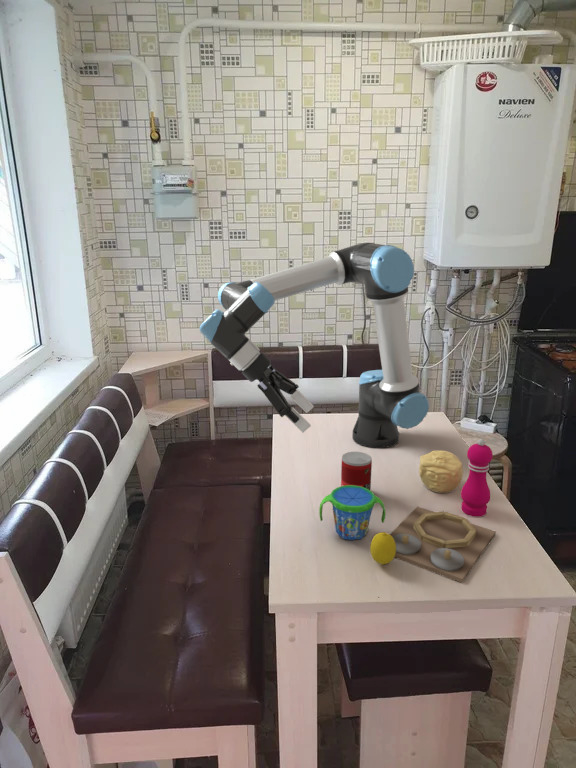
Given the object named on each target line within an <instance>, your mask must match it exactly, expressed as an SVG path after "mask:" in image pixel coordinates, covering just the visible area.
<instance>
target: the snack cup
mask: <svg viewBox="0 0 576 768" xmlns="http://www.w3.org/2000/svg"><path fill="white" fill-rule="evenodd" d="M328 502H329V503H331V505H332V513H333V521H334V530H335V533H336V534H337V535H338V536H339V537H340V538H342V539H343V540H349V541H355V540H360V541H361V540H362V539H363V538H364V537H365V536H366V535H367V533H368V530H369V527H370V526H369V525H370V520H371V515H372V511H373V510H374V507H375V504H379V505H380V508H382V512H381V513H382V514H381V517H380V519H381V523H382V524H383V523H384V522H385V520H386V507H385V504H384V502H383V501H382V499H381V498H380V497H378V496H377V495H375V493H374V492H373V491H372V490H369V489H367V488H364V487H361V486H355V485H346V486H338V487H335V488H334V489H333V490H332V491H331V493H329V494H327V495H326V496H325V497H324V498H322V500H321V501H320V505H319V507H318V508H319V510H318V511H319V512H318V513H319V520H320V522H323V520H324V519H323V506H324V505H325V504H326V503H328Z"/></svg>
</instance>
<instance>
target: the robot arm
mask: <svg viewBox="0 0 576 768" xmlns="http://www.w3.org/2000/svg"><path fill="white" fill-rule="evenodd" d="M414 274H415V268H414V262H413V260H412V258H411V256H410V255H409V253H408V252H406V251H405V249H403V248H399V247H398V246H394V245H391V244H381V243H375V242H363V243H358V244H354V245H351V246H347V247H344V248H341V249H338V250H335V251H331V252H330V253H329V254H328V256H326V257H323V258H320V259H317V260H313V261H309V262H306V263H303V264H298V265H296V266H292V267H289V268H286V269H281V270H279V271H275V272H273V273H268V274H266V275H265V274H264V275H262V276H258V277H254V278H251V279H249V280H243V281H240V282H234V281H233V282H226V283H224V284H223V285H222V286H220V288H218V289H219V290H218V292H217V300H218V302H219V305H220V306H222V307H223V309H224V310H225V311H224V312H223V311H222V310H220V309H217V308H216V309H215V310H214V311H213V312H212V313H211V314H210V315H209V316H208V317H207V318H206V319H205V320H204V321H203V322H202V323H201V324H200V326H199V332H200V333H201V334H202V336H204V338H205V339H206V340H207V341H208V342H209V343H210V344H211V345H212V347H214V348H215V349H216V350H217V351H219V353H220V354H221V355H222V356H224V358H226V359H227V360H228V361H229V362H230V363H229V364H230V365H231V366H232V367H233V366H234V367H235V368H236V369H237V370H238V371H241V374H242V375H243V376H244V377H245V378H246V379H247V380H248V381H249V382H250V383H253V382H254V381H255V380H257V381H258V382H259V383H258V384H257V385H256V386H257V388H258V389H259V390H260V391H261V392H262V393H263V395H264V396H265V397H266V399H267V400H268V401H269V402H270V404H271V405H272V406H273V408H274V409H275V411H276V412H277V413H278V415H279V416H280V418H283V417H286V418H287V419H288V420H289V421H290V422H291V423H292V424H293V425H294V426H295V427H296V428H297V429H298V430H299V431H301V432H302V433H305V432H306V431H307V430H308V429H309V428H311V427H312V425H311V424H310V422H309V421H307V419H306V418H304V417H303V416H302V414H300V412H298V411H297V410H296V409H295V408H294V406H291V405H290V404H289V402H288V401H287V399H286V397H285V396H284V394H283V393H282V392H284V393H286V394H288V395H289V398H291V399H292V400H293V401H294V402H295V403H296V404H297V406H299V408H300V409H302V410H303V411H304V413H306V414H308V413H309V412H310V411H311V410H313V408H314V407H315V406H314V404H312V403H311V401H310V400H309V399H308V398H306V396H304V395H303V393H302V392H300V390H299V389H298V388H299V385H298V384H296V383H295V382H294V381H293V380H291V379H290V378H288V377H287V376H286V375H285V374H283V373H282V372H280V371H279V370H277V368H275V367H274V366H273V365H272V360H271V359H270V358H268V356H267V355H265V353H264V352H260V350H261V349H260V348H259V347H258V346H257V345H256V344H255V343H254V342H253V341H252V340H251V339H250V338H249V337H248V336H247V335H246V334H247V333H248V332H249V331H250V329H251V328H252V327H253V326H254V325H255V324H256V323H257V322H258V321H259V320H261V318H262V317H264V316H265V314H267V313H268V312H269V311H270V309H271V308H272V307H273V306H274V305H275V301H280V300H283V299H286V298H289V297H292V296H295V295H299V294H301V293H305V292H309V291H312V290H315V289H319V288H322V287H325V286H328V285H332V284H336V285H339V286H341V285H346V284H348V283H349V284H350V283H354V284H355V283H356V284H357V283H358V284H363V285H364V291H365V297H366V299H367V300H368V301H370V302H371V303H372V307H373V315H374V320H375V321H374V322H375V328H376V334H377V335H376V336H377V341H378V342H377V343H378V350H379V356H380V363H381V364H380V365H381V369H375V370H374V369H373V370H367V371H363V372H362V373H361V374H360V376H359V382H358V385H359V388H358V389H359V390H358V391H359V394H358V416H357V418H356V422H355V424H354V425H353V426H354V427H353V430H352V435H351V436H352V440H353V441H354V442H355V443H356V444H357V445H361V446H363V447H369V448H377V449H379V448H381V449H382V448H390V447H392V446H395V445H397V444H398V442H399V440H400V432H399V428H402V429H411V428H412V429H413V428H414V427H415V428H416V427H417V426H418V425H419V424H421V423H422V422H423V421H424V418H426V417H427V414H428V412H429V408H430V403H429V399H428V398H427V396H426V395H425V394H424V393H421V387H420V381H419V378H418V377H417V376H415V375H414V374H413V366H412V364H413V363H412V358H411V357H412V356H411V350H410V349H411V348H410V342H409V333H408V324H407V318H406V317H407V316H406V307H405V301H404V300H405V299H404V298H405V297H406V295H407V294H408V293H409V286H410V284H411V283H412V282H411V281H412V280H413V277H414ZM398 427H399V428H398Z"/></svg>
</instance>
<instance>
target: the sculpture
mask: <svg viewBox="0 0 576 768" xmlns="http://www.w3.org/2000/svg"><path fill="white" fill-rule="evenodd" d="M418 473H419V477H420V480H421V481H422V483H423V485H424V487H426V488H427V489H428V490H430V491H433V492H436V493H443V494H445V493H446V494H447V493H451V492H453V491H455V490H456V489H457V488H458V487H459V486H460V485H461V483H462V480H463V477H464V468H463V463H462V462H461V460H460V458H459V457H458V456H456V455H455V454H454V453H452V452H450V451H447V450H432V451H431V452H428V453H426V454H423V455H420V457H419V468H418Z"/></svg>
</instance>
